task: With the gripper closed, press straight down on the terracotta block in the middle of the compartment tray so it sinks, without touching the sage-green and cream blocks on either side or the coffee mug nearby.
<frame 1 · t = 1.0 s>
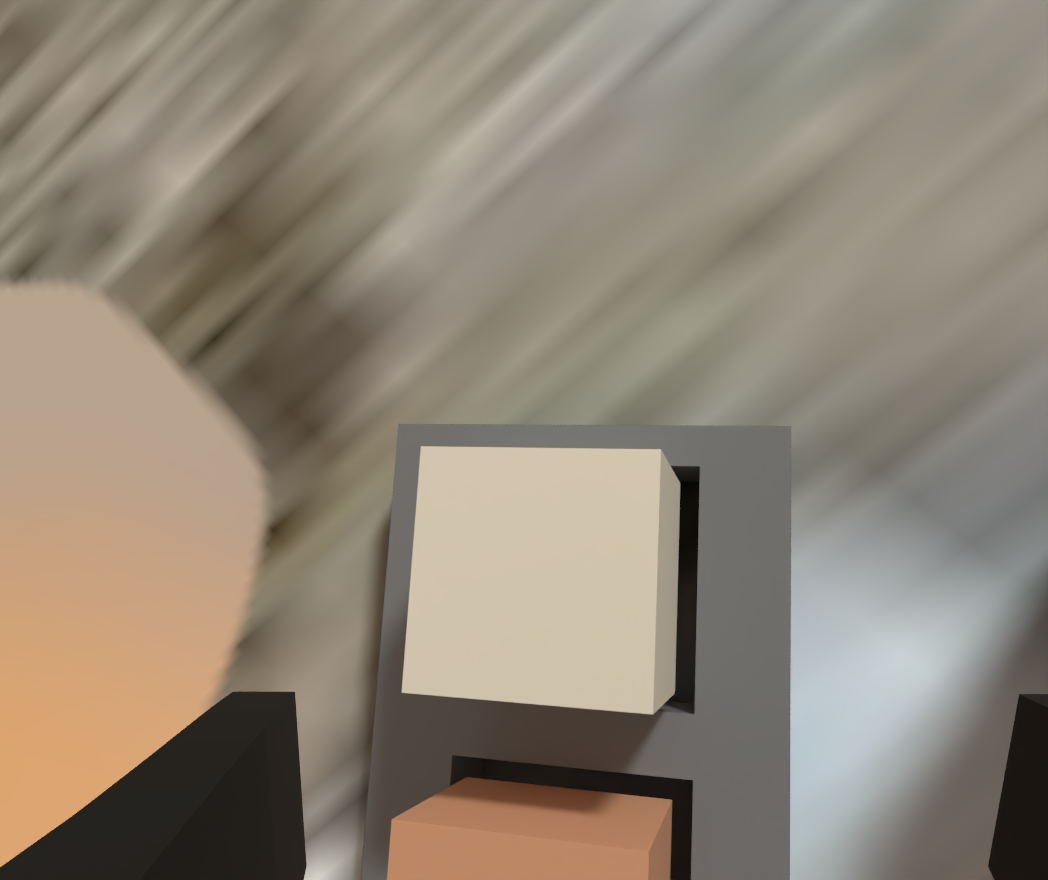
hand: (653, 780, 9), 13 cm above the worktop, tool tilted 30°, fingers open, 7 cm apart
compartment tray: (583, 867, 21), on the worktop
block cream: (555, 577, 18), point 5 cm above the worktop, slide at 0.0 cm
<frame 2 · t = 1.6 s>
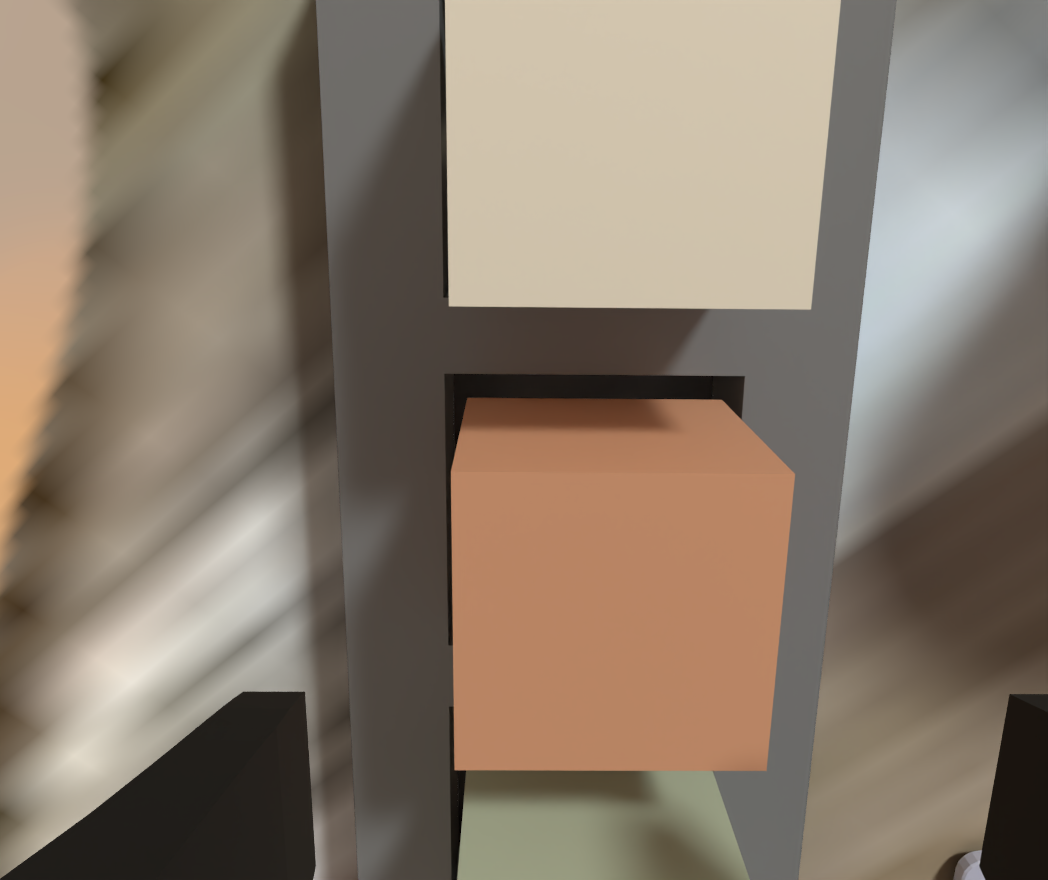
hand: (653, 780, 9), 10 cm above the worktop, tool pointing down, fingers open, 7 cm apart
compartment tray: (580, 475, 18), on the worktop
block terracotta: (602, 565, 14), point 5 cm above the worktop, slide at 0.0 cm
block cream: (618, 127, 12), point 5 cm above the worktop, slide at 0.0 cm
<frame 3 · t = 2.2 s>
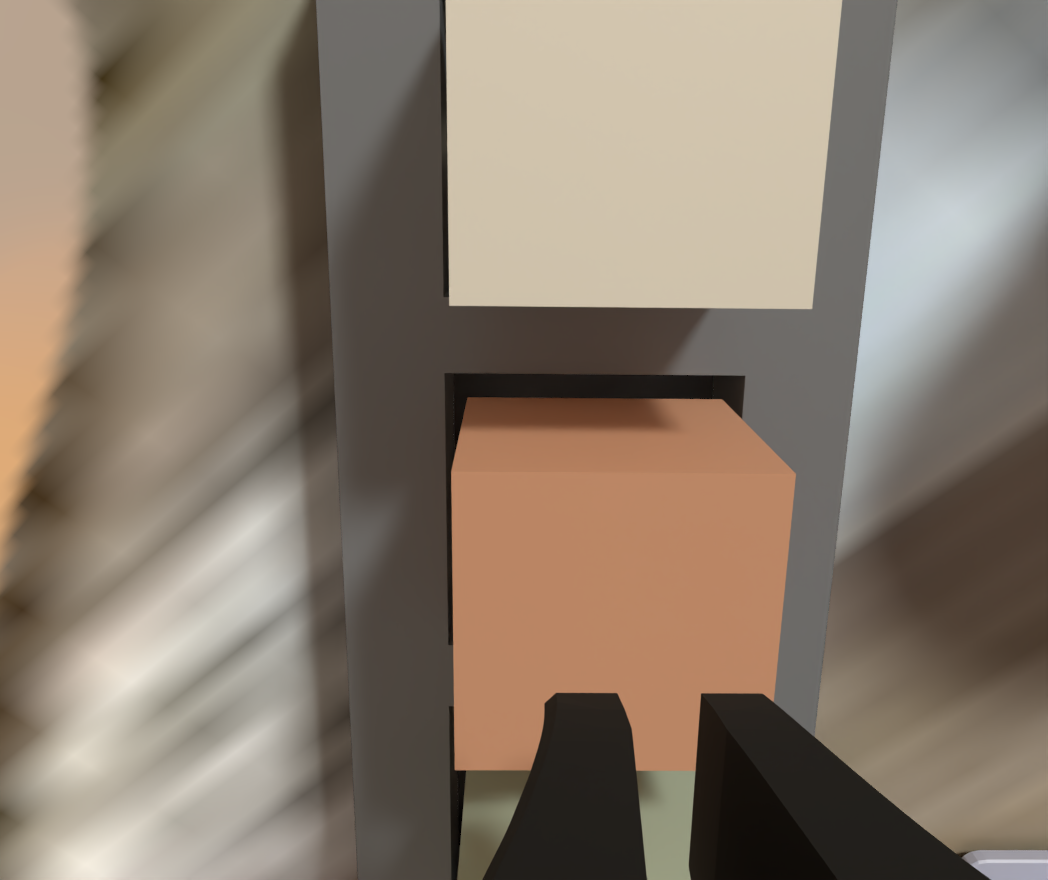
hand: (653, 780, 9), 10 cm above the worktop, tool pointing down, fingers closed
compartment tray: (581, 474, 18), on the worktop
block terracotta: (602, 565, 14), point 5 cm above the worktop, slide at 0.0 cm
block cream: (618, 126, 12), point 5 cm above the worktop, slide at 0.0 cm
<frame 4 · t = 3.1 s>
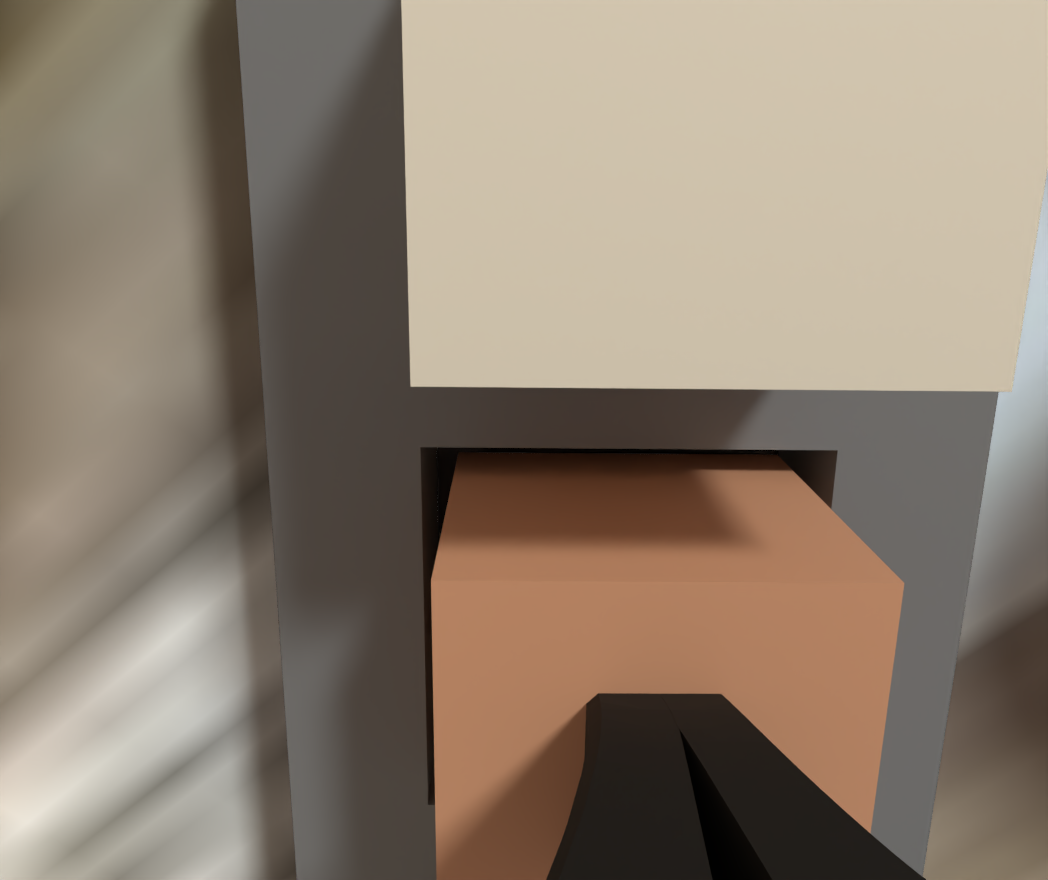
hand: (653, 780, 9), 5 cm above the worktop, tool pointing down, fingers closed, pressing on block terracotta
compartment tray: (603, 564, 14), on the worktop
block terracotta: (630, 675, 11), point 3 cm above the worktop, slide at -1.3 cm, touching gripper
block cream: (678, 96, 8), point 5 cm above the worktop, slide at 0.0 cm
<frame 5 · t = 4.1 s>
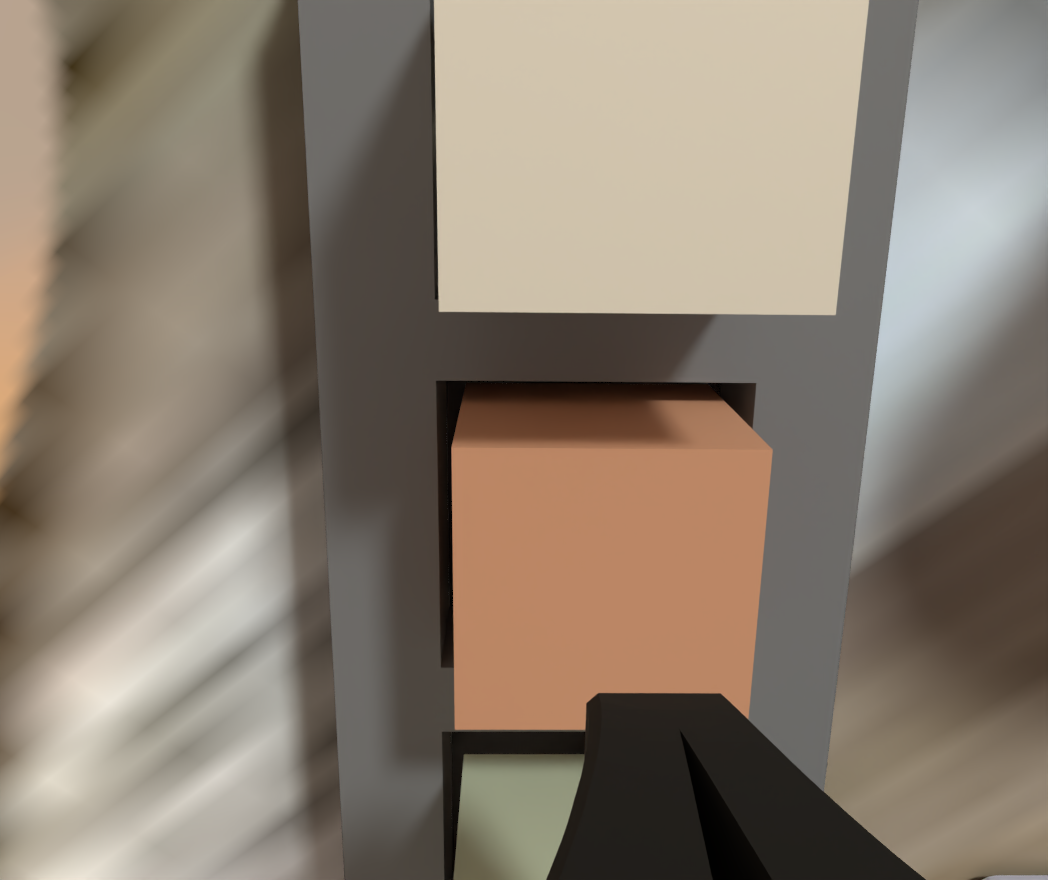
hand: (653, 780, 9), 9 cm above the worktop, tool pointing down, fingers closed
compartment tray: (580, 485, 18), on the worktop
block terracotta: (593, 540, 15), point 3 cm above the worktop, slide at -1.8 cm
block cream: (623, 116, 11), point 5 cm above the worktop, slide at 0.0 cm
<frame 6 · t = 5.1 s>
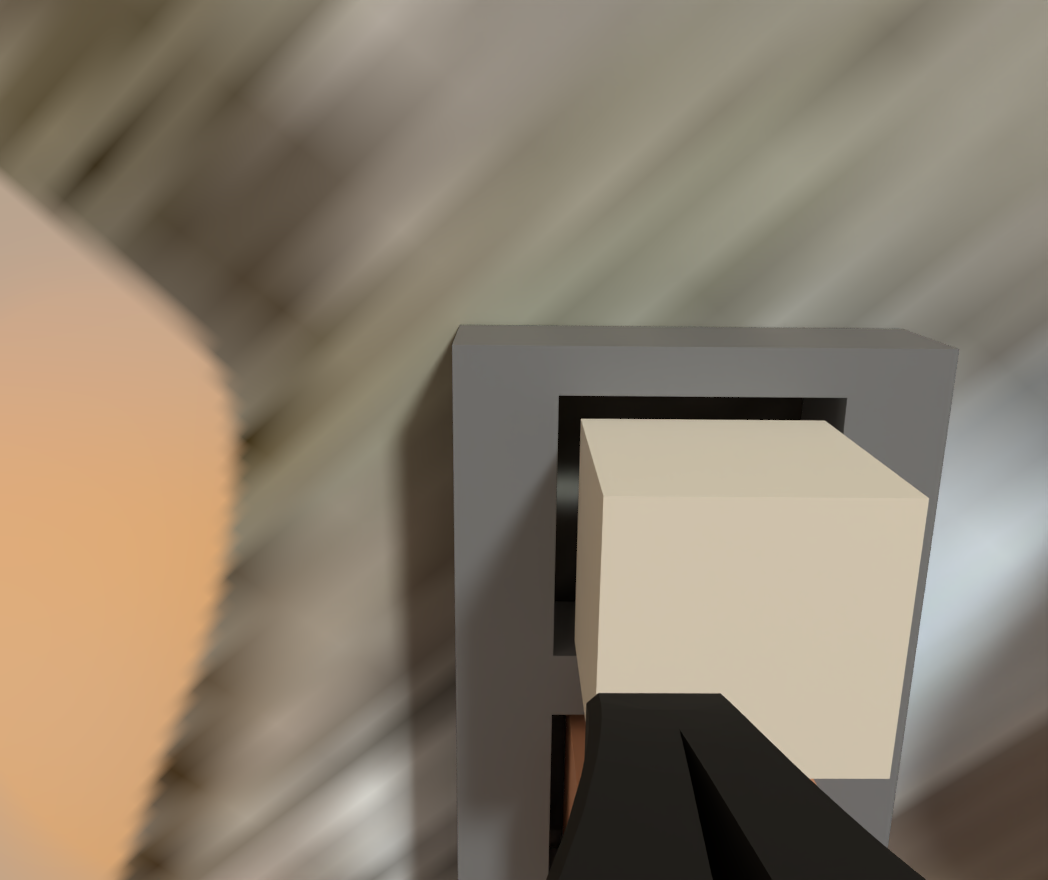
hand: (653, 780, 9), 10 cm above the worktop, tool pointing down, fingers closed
compartment tray: (656, 754, 21), on the worktop
block terracotta: (678, 837, 18), point 3 cm above the worktop, slide at -1.8 cm
block cream: (720, 581, 15), point 5 cm above the worktop, slide at 0.0 cm
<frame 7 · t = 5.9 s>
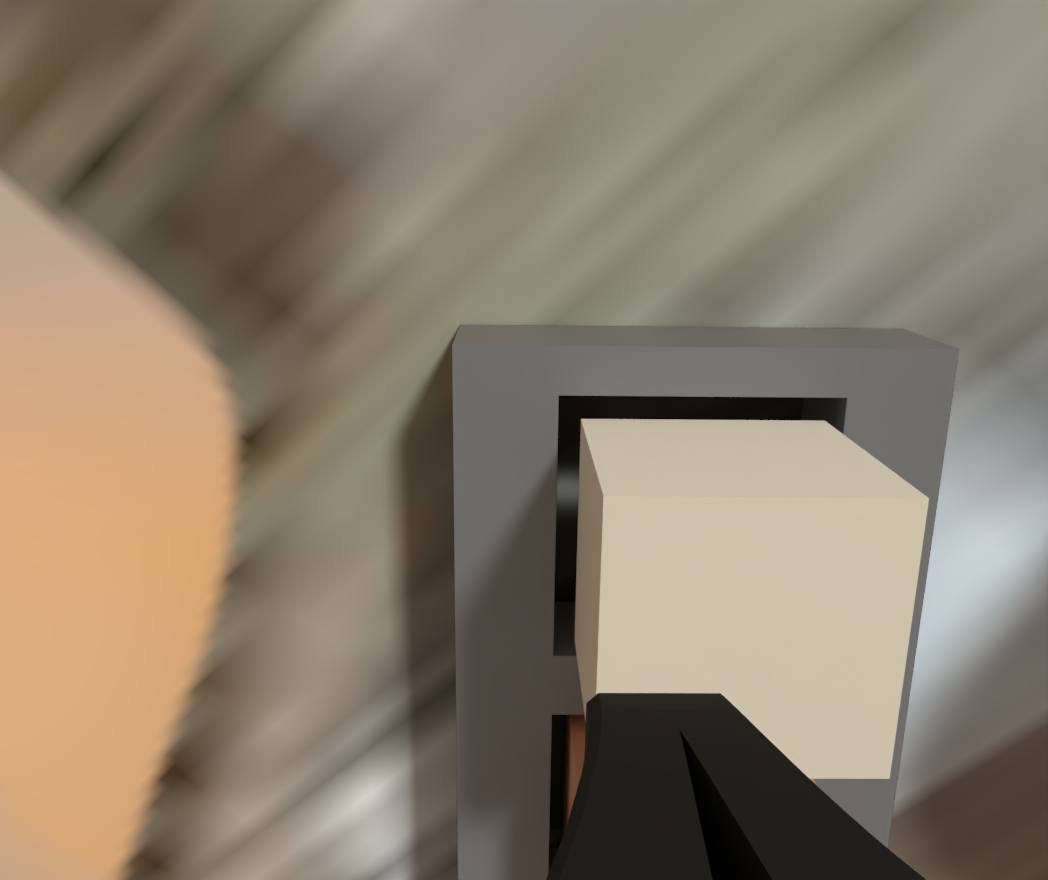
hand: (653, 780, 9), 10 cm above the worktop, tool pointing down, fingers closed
compartment tray: (656, 754, 21), on the worktop
block terracotta: (678, 837, 18), point 3 cm above the worktop, slide at -1.8 cm
block cream: (720, 581, 15), point 5 cm above the worktop, slide at 0.0 cm
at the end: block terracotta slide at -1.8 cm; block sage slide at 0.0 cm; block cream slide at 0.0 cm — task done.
